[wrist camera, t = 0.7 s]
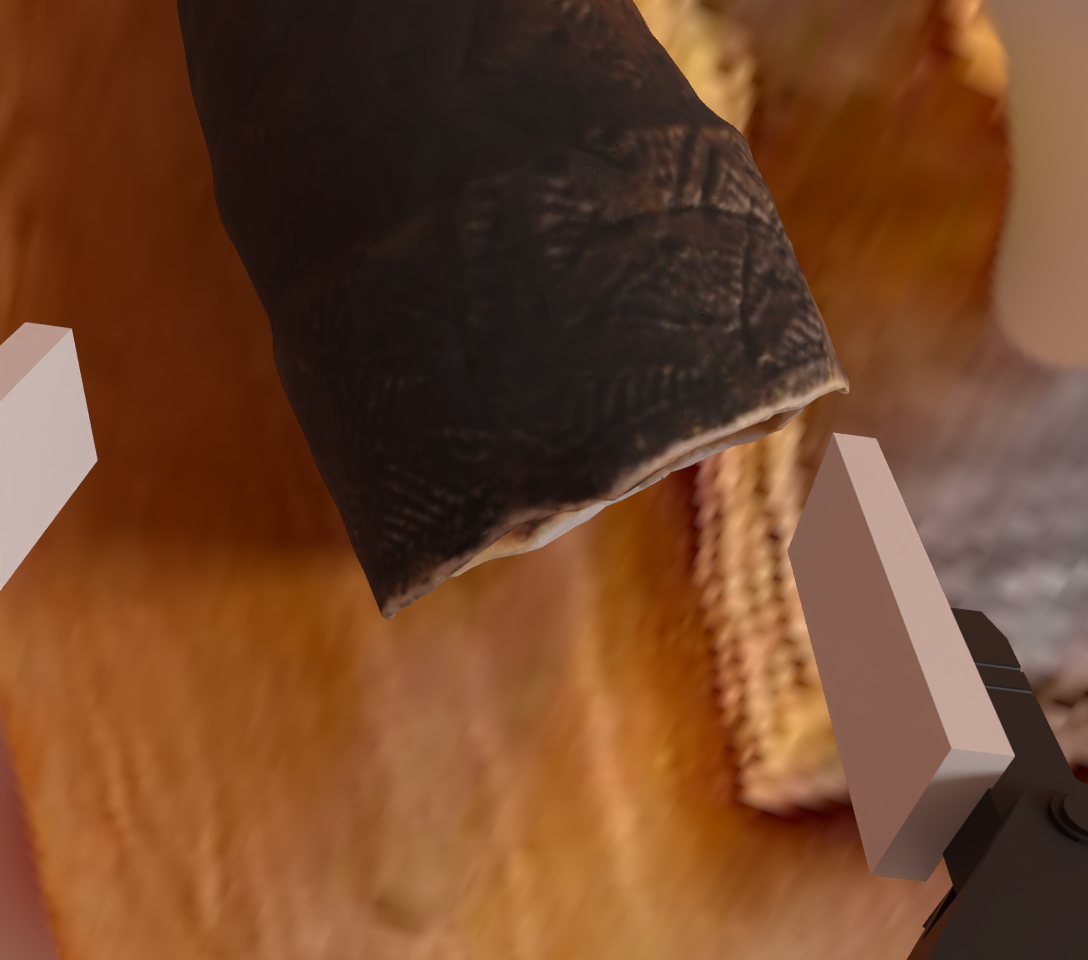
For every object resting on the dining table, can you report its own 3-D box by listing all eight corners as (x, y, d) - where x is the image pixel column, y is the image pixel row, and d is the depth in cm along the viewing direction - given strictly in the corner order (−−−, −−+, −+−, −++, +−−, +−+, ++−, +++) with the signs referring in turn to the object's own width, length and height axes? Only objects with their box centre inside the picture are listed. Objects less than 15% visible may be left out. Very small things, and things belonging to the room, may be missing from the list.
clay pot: (397, -656, 20) (941, 336, 18) (517, -159, 36) (820, 415, 33) (-140, -291, 22) (295, 659, 20) (192, 35, 37) (461, 594, 35)
